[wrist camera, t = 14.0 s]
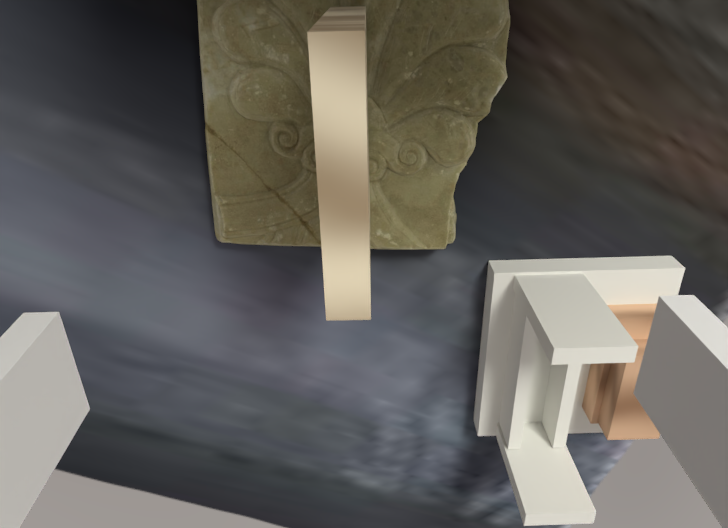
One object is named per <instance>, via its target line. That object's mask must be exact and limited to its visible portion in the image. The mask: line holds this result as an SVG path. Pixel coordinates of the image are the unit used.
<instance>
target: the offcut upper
mask: <svg viewBox="0 0 728 528" xmlns="http://www.w3.org/2000/svg"><path fill="white" fill-rule="evenodd" d="M633 340H634V341H635V342H636V344H637V345H638V350H637V354H636V358H635V362H634V363H611V365H610V369H609V373H608V378H607V382H606V386H605V391H604V395H603V399H602V404H601V408H600V412H599V417H598V421H597V422H598V424H599V426H600V427H601V429H602V431H603V433H604V435H605V437H606V438H607V440H625V439H658V438H659V436H660V433H659V431H658V430H657V428H656V427H655V425H654V424H653V422H652V421H651V419H650V418H649V416H648V415H647V413H646V412H645V410H644V409H643V407H642V406H641V404H640V403H639V401H638V400H637V398H636V397H635V395H634V394H633V393H634V389H635V385H636V381H637V378H638V374H639V370H640V366H641V363H642V359H643V355H644V351H645V347H646V344H647V340H648V339H633Z"/></svg>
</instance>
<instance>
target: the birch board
mask: <svg viewBox="0 0 728 528" xmlns="http://www.w3.org/2000/svg"><path fill="white" fill-rule="evenodd" d="M307 36H308V51H309V66H310V81H311V97H312V112H313V127H314V142H315V157H316V172H317V187H318V202H319V218H320V233H321V248H322V263H323V278H324V293H325V308H326V320H371V274H370V190H369V142H368V95H367V47H366V6H351V7H330V8H329V9H328V10H327V11H326V12H325V13H324V15H323V16H322V17H321V18H320V19H319V20H318V21H317V22H316V23H315V24H314V25H313V26H312V28H311V29H310V30H309V31H308V32H307Z"/></svg>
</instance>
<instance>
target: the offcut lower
mask: <svg viewBox="0 0 728 528" xmlns="http://www.w3.org/2000/svg"><path fill="white" fill-rule="evenodd" d="M607 306H608V307H609V308H610V310H611V311H612V312H613V313H614V315H615V316H616V317H617V319H618V320H619V321H620V323H621V324H622V325H623V327H624V328H625V329H626V330H627V332H628V333H629V334H630V336H631V337H632V338H633V339H648V336H649V332H650V328H651V325H652V321H653V317H654V313H655V309H656V306H657V304H622V305H607ZM610 365H611V363H599V364H591V365H590V370H589V375H588V379H587V384H586V389H585V394H584V398H583V403H582V408H583V410H584V412H585V414H586V416H587V417H588V419H589V421H590V423H591V424H597V423H598V422H597V421H598V417H599V412H600V408H601V404H602V399H603V395H604V391H605V386H606V382H607V378H608V373H609V369H610Z"/></svg>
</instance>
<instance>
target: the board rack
mask: <svg viewBox="0 0 728 528" xmlns="http://www.w3.org/2000/svg"><path fill="white" fill-rule="evenodd" d="M684 271H685V267H683V266H682V265H681V264H680V263H679V262H678V261H677V260H676V259H675V258H673V257H672V256H642V257H604V258H566V259H528V260H490V261H488V271H487V282H486V292H485V303H484V313H483V324H482V334H481V345H480V355H479V366H478V376H477V387H476V397H475V408H474V418H473V420H474V424H475V428H476V431H477V435H478V436H496V437H497V441H498V444H499V447H500V450H501V453H502V457H503V460H504V463H505V466H506V469H507V473H508V476H509V479H510V482H511V485H512V489H513V492H514V495H515V498H516V501H517V505H518V508H519V511H520V514H521V517H522V521H523V524H524V526H528V525H559V524H589V523H590V524H591V523H593V522H594V519H595V515H596V511H595V508H594V506H593V504H592V502H591V499H590V497H589V495H588V493H587V491H586V488H585V486H584V484H583V482H582V480H581V477H580V475H579V473H578V471H577V469H576V466H575V464H574V462H573V460H572V457H571V455H570V453H569V451H568V449H567V446H566V440H567V435H568V434H570V433H603V431H602V429H601V427H600V426H599V424H598V423H597V424H591V423H590V421H589V419H588V417H587V416H586V414H585V412H584V410H583V408H582V403H583V398H584V394H585V389H586V384H587V379H588V375H589V370H590V365H591V364H599V363H634V362H635V358H636V354H637V350H638V345H637V344H636V342H635V341H634V340H633V338H632V337H631V336H630V334H629V333H628V332H627V330H626V329H625V328H624V327H623V325H622V324H621V323H620V321H619V320H618V319H617V317H616V316H615V315H614V313H613V312H612V311H611V310H610V308H609V307H608V306H607V305H622V304H657V302H658V298H659V296H676V295H678V292H679V289H680V285H681V281H682V278H683V274H684Z"/></svg>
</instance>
